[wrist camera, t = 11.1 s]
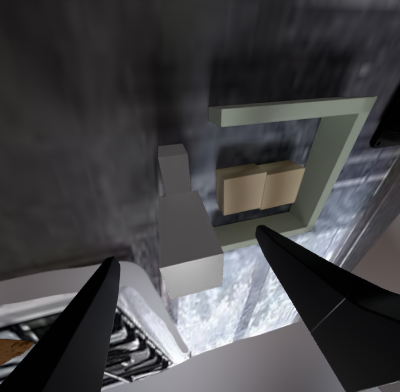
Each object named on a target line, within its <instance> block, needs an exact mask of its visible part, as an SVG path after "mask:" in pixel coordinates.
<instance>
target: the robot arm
mask: <svg viewBox="0 0 400 392" xmlns="http://www.w3.org/2000/svg"><path fill="white" fill-rule="evenodd" d="M395 145H400V91H399V93H398V95H397V97H396V99H395V101H394V102H393V104H392V106H391V108H390V110H389V111H388V113H387V115H386V117H385V119H384V121H383V122H382V124H381V126H380V128H379V130H378V131H377V133H376V135H375V137H374V139H373V141H372V142H371V145H370V147H372V148H381V147H388V146H395ZM255 237H256V239H257V241H258V243H259V245H260V248H261V250H262V252H263V254H264V256H265V258H266V260H267V261H268V263H269V265H270V266H271V268H272V270H273V271H274V273H275V275H276V276H277V278H278V280H279V281H280V283H281V285H282V286H283V288H284V290H285V291H286V293H287V295H288V296H289V298H290V300H291V301H292V303H293V305H294V306H295V308H296V310H297V311H298V313H299V315H300V316H301V318H302V320H303V321H304V323H305V325H306V326H307V328H308V330H309V331H310V332H311V335H312V336H313V338H314V340H315V341H316V343H317V345H318V346H319V348H320V350H321V351H322V353H323V354H324V356H325V358H326V360H327V361H328V363H329V365H330V366H331V368H332V370H333V371H334V373H335V375H336V376H337V378H338V380H339V381H340V383H341V385H342V386H343V388H344V389H345V391H346V392H360V391H363V390H368V389H372V388H376V387H378V388H379V389H380V391H381V392H400V294H397V293H393V292H390V291H388V290H385V289H383V288H381V287H379V286H377V285H375V284H373V283H371V282H368V281H367V280H364V279H362V278H360V277H358V276H356V275H354V274H352V273H350V272H348V271H346V270H344V269H342V268H340V267H338V266H336V265H335V264H333V263H331V262H329V261H327V260H326V259H324V258H322V257H320V256H318V255H317V254H315V253H313V252H311V251H309V250H308V249H306V248H304V247H302V246H301V245H299V244H297V243H295V242H294V241H292V240H290V239H288V238H286V237H285V236H283V235H281V234H279V233H278V232H276V231H274V230H272V229H270V228H269V227H267V226H265V225H258V226H257V227H256V232H255ZM119 280H120V264H119V262H118V260H117V258H116V257H115V256H113V257H108V258H106V259H105V261H104V262H103V263H102V264H101V266H100V267H99V268H98V269H97V270H96V272H95V273H94V274H93V275H92V277H91V278H90V279H89V280H88V281H87V283H86V284H85V285H84V286H83V288H82V289H81V290H80V291H79V292H78V294H77V295H76V296H75V297H74V298H73V300H72V301H71V302H70V303H69V305H68V306H67V307H66V308H65V309H64V311H63V312H62V313H61V314H60V316H59V317H58V318H57V319H56V320H55V322H54V323H53V324H52V325H51V327H50V328H49V330H47V331H46V333H45V334H44V335H43V336H42V337H41V339H40V340H39V341H38V342H37V343H36V345H35V346H34V347H33V348H32V349H31V350H30V352H29V353H28V354H27V355H26V356H25V358H24V359H23V360H22V361H21V362H20V363H19V364H18V365H17V367H16V368H15V369H14V370H13V371H12V372H11V373H10V374H9V376H8V377H7V378H6V379H5V380H4V381H3V382H2V383H1V384H0V392H101V386H102V381H103V376H104V370H105V365H106V359H107V354H108V349H109V343H110V338H111V332H112V327H113V322H114V316H115V311H116V306H117V300H118V293H119Z"/></svg>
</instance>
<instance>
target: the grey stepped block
mask: <svg viewBox="0 0 400 392" xmlns="http://www.w3.org/2000/svg"><path fill="white" fill-rule="evenodd" d="M158 160H159V165H160V170H161V175H162V179H163V184H164V189H165V193H166V196H160V197H159V240H160V271H161V274H162V277H163V280H164V283H165V285H166V288H167V291H168V294H169V297H170V300H171V299H175V298H178V297H182V296H186V295H189V294H193V293H197V292H201V291H204V290H208V289H212V288H215V287H219V286H222V280H223V260H224V253H223V250H222V248H221V245H220V243H219V241H218V238H217V236H216V233H215V231H214V229H213V226H212V224H211V221H210V219H209V217H208V214H207V212H206V209H205V207H204V205H203V202H202V200H201V197H200V195H199V193H198V190H197V191H191V182H190V172H189V162H188V154H187V152H186V150H185V148H184V146H183V144H174V145H165V146H158Z"/></svg>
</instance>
